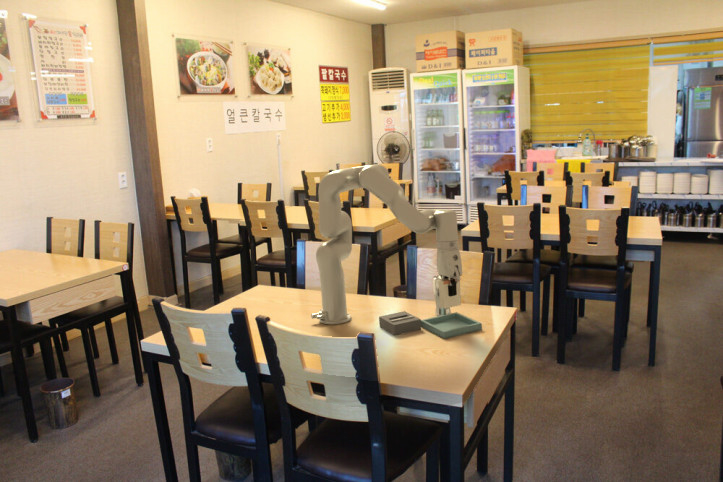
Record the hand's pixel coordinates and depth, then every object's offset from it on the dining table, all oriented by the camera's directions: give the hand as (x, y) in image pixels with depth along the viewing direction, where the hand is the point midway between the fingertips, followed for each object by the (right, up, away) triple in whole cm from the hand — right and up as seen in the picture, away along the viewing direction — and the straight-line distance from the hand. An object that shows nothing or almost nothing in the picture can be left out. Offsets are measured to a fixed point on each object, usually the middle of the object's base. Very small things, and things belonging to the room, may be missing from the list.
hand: (449, 294), depth 219 cm
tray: (+1, -13, +2) cm, 13 cm away
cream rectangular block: (0, -4, +1) cm, 4 cm away
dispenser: (-18, -13, +6) cm, 23 cm away
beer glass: (0, -10, +20) cm, 22 cm away
